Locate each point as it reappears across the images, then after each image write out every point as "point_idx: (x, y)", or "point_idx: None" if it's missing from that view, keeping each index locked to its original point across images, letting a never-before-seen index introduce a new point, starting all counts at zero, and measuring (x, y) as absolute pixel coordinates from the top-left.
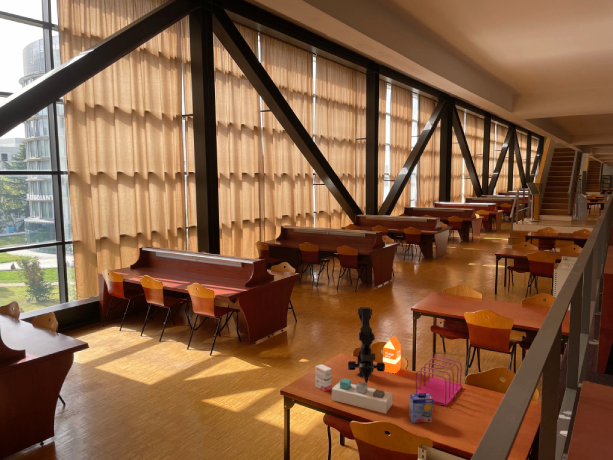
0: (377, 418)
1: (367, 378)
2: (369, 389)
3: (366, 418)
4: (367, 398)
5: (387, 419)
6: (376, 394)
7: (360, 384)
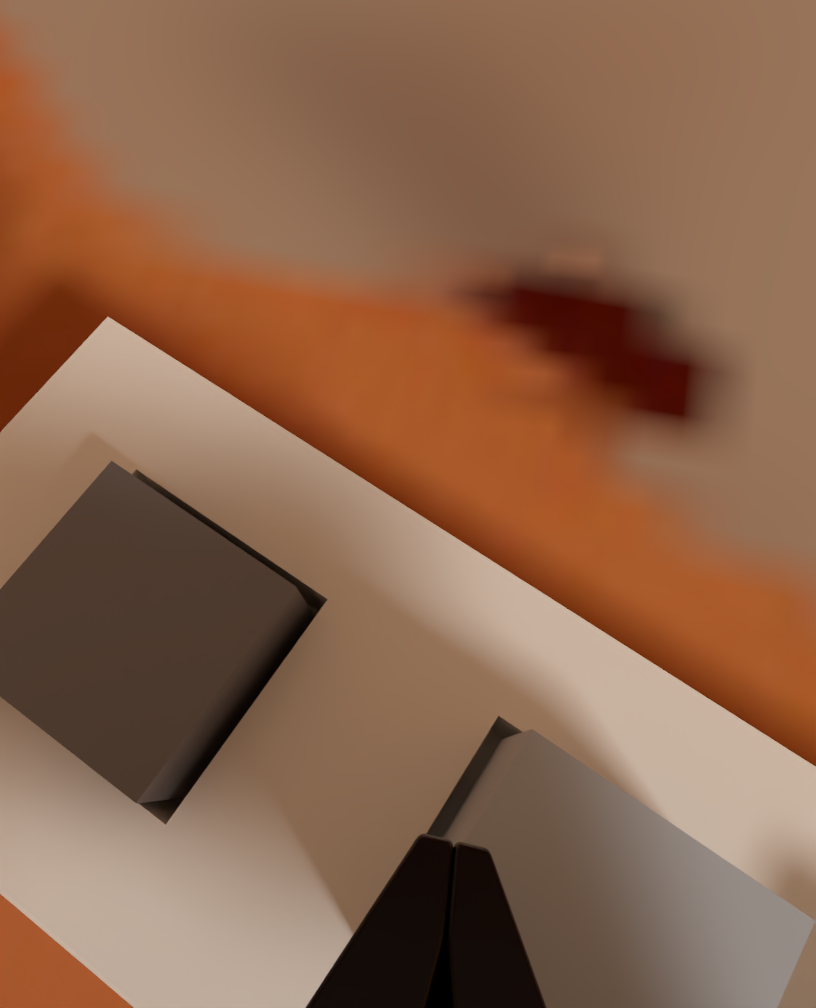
0: (355, 320)
1: (384, 955)
2: (298, 1001)
3: (519, 336)
4: (460, 548)
5: (217, 283)
6: (222, 537)
7: (647, 984)
